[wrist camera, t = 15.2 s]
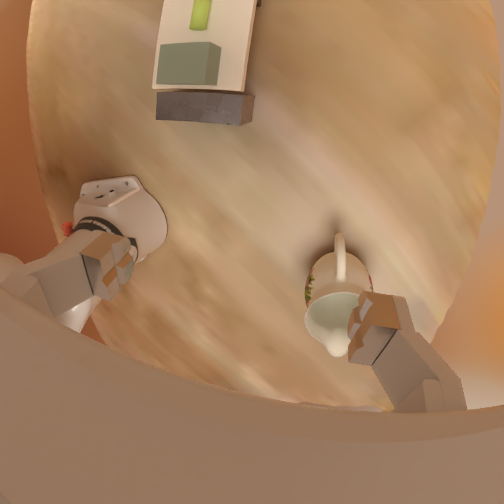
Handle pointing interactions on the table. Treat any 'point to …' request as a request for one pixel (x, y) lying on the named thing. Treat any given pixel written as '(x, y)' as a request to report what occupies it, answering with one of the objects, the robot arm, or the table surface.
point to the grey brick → (205, 106)
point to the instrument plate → (217, 32)
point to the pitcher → (334, 296)
